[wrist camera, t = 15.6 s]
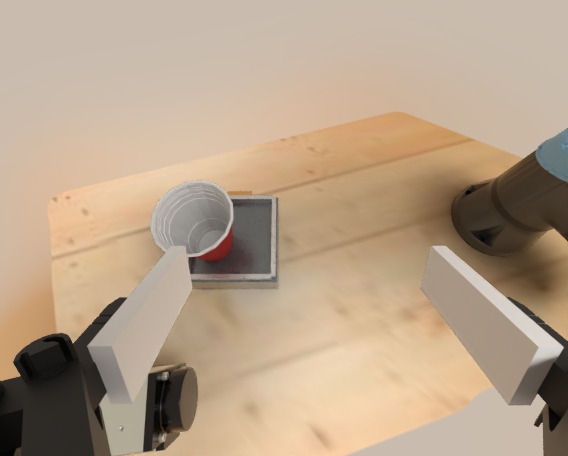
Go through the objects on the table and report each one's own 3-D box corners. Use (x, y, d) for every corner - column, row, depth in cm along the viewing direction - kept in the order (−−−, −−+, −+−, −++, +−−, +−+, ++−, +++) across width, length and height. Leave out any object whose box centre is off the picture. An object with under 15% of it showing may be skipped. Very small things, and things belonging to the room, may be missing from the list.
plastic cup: (189, 212, 47) (159, 174, 36) (250, 218, 46) (240, 181, 35) (174, 274, 43) (135, 252, 32) (241, 280, 42) (225, 261, 31)
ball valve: (95, 431, 41) (-32, 499, 25) (103, 370, 44) (-6, 393, 28) (212, 417, 42) (166, 473, 25) (212, 357, 45) (170, 372, 28)
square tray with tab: (278, 203, 55) (277, 181, 47) (278, 288, 49) (277, 280, 41) (206, 203, 55) (193, 182, 47) (196, 288, 49) (179, 280, 41)
